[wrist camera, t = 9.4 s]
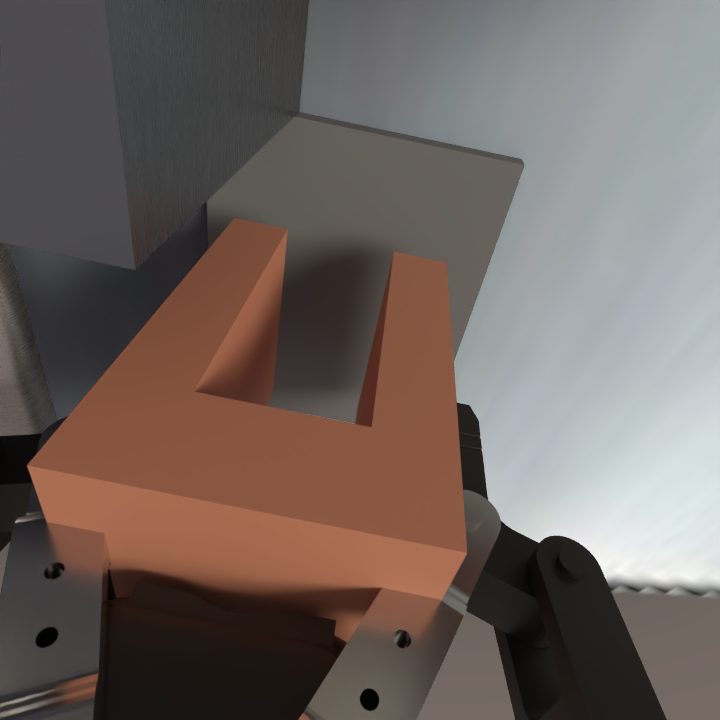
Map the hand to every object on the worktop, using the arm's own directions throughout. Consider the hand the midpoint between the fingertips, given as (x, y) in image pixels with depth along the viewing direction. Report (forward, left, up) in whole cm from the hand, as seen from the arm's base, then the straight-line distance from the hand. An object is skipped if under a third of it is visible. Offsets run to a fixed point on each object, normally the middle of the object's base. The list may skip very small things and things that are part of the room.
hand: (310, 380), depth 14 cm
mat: (0, 0, -5) cm, 5 cm away
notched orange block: (0, 0, -3) cm, 3 cm away
